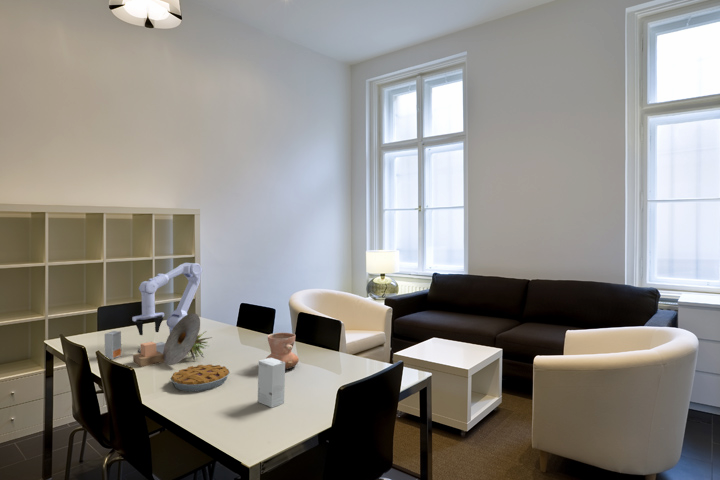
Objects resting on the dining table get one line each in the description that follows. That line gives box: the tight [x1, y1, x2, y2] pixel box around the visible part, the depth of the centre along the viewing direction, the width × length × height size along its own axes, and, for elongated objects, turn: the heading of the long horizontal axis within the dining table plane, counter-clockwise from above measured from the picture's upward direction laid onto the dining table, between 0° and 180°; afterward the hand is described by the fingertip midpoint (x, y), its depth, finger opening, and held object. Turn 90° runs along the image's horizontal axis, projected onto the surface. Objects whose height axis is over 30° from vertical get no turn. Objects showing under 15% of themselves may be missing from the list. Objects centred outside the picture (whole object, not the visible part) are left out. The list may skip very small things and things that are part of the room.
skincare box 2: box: [257, 357, 286, 408], centre depth 156 cm, size 8×6×15 cm
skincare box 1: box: [104, 330, 122, 360], centre depth 212 cm, size 6×4×12 cm
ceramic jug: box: [265, 332, 300, 371], centre depth 195 cm, size 18×14×14 cm
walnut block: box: [132, 351, 165, 368], centre depth 204 cm, size 10×10×4 cm
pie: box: [170, 364, 231, 392], centre depth 177 cm, size 22×22×5 cm
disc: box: [163, 312, 213, 366], centre depth 208 cm, size 25×18×25 cm
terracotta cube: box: [140, 341, 157, 357], centre depth 204 cm, size 5×5×5 cm
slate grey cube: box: [155, 341, 166, 354], centre depth 218 cm, size 5×5×5 cm
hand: (149, 333), depth 218 cm, fingers open, 7 cm apart
